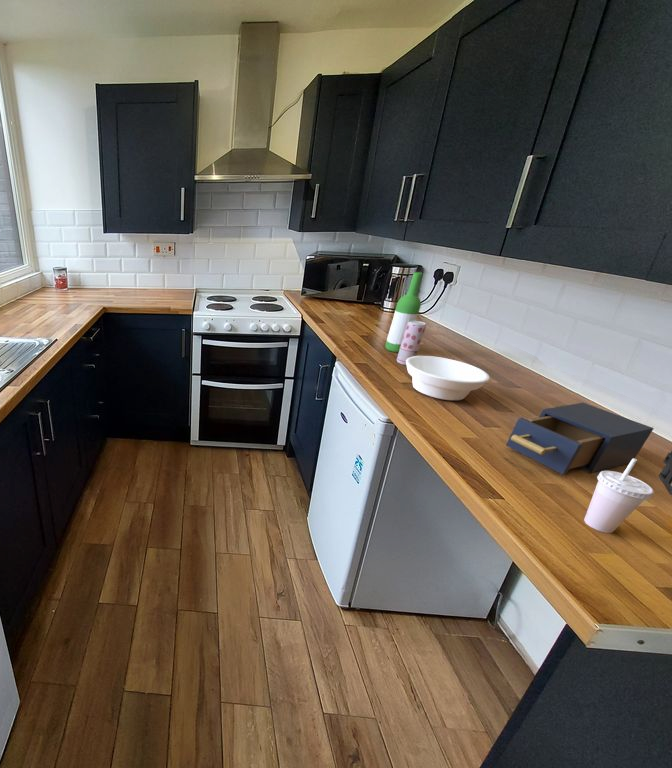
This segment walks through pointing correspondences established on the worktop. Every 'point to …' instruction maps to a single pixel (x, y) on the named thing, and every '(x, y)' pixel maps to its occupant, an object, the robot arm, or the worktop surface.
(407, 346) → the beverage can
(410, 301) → the wine bottle
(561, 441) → the drawer
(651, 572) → the worktop surface
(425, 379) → the bowl
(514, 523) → the worktop surface
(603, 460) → the cabinet
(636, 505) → the smoothie
